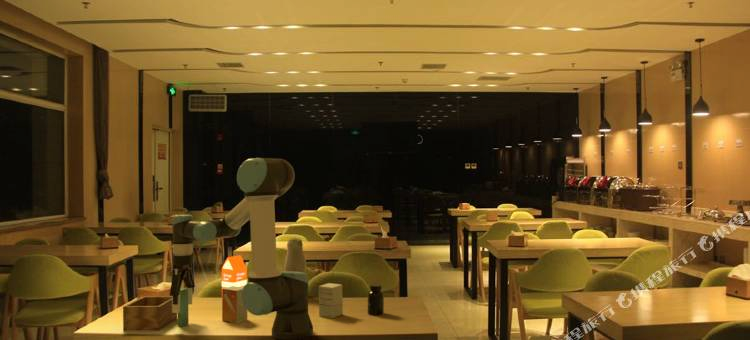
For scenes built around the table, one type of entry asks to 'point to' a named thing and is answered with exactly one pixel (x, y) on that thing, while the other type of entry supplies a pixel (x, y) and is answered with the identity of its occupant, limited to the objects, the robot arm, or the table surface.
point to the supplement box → (330, 300)
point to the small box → (233, 305)
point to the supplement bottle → (375, 300)
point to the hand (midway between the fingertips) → (182, 308)
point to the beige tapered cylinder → (295, 256)
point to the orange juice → (234, 272)
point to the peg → (183, 308)
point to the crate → (148, 313)
